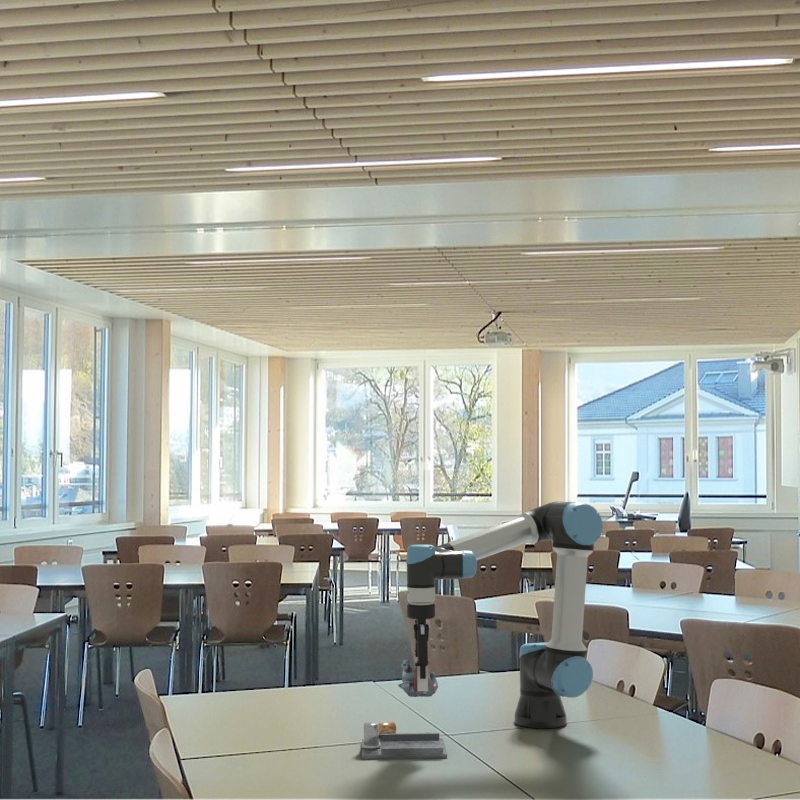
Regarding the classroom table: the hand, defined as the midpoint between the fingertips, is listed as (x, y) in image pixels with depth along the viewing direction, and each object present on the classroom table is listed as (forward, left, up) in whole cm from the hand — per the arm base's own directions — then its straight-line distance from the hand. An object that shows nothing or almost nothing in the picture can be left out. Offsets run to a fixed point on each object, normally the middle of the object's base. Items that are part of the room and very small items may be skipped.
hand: (421, 686), depth 288 cm
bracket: (+5, 0, -17) cm, 17 cm away
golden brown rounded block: (+10, -16, -17) cm, 25 cm away
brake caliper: (+1, 0, -2) cm, 2 cm away
